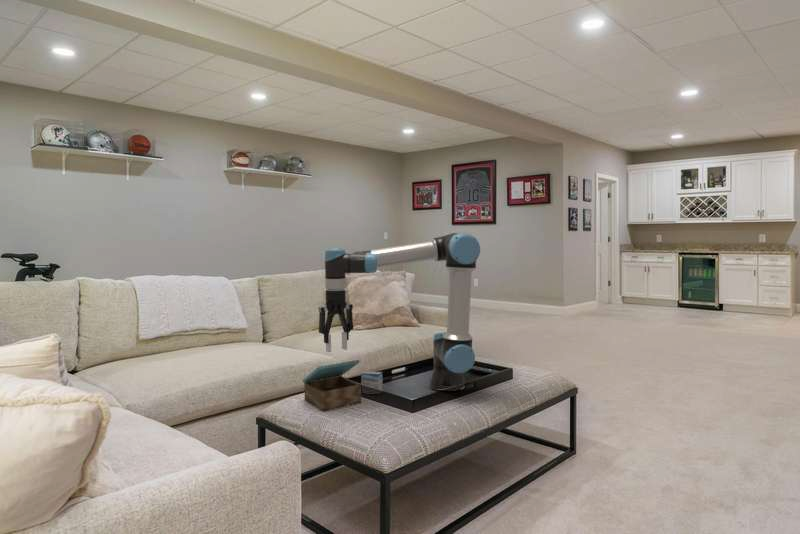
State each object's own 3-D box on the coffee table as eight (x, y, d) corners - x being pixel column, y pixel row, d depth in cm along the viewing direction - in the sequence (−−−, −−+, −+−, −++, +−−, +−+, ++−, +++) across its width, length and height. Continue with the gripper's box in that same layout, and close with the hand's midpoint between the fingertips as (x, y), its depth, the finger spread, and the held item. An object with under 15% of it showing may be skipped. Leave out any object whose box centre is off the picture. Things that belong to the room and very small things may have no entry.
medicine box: (361, 394, 212) (360, 373, 211) (364, 390, 216) (364, 370, 215) (379, 395, 210) (379, 374, 209) (382, 392, 214) (382, 371, 213)
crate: (340, 392, 214) (340, 375, 213) (361, 403, 201) (360, 385, 200) (304, 400, 204) (304, 382, 204) (323, 411, 191) (323, 392, 191)
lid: (341, 375, 213) (341, 373, 214) (359, 362, 201) (359, 359, 201) (303, 382, 204) (302, 380, 204) (319, 369, 191) (319, 366, 191)
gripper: (352, 287, 205) (353, 345, 206) (307, 290, 194) (309, 352, 195) (362, 288, 199) (363, 348, 200) (317, 292, 188) (318, 355, 189)
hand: (336, 350), depth 198 cm, fingers open, 6 cm apart
